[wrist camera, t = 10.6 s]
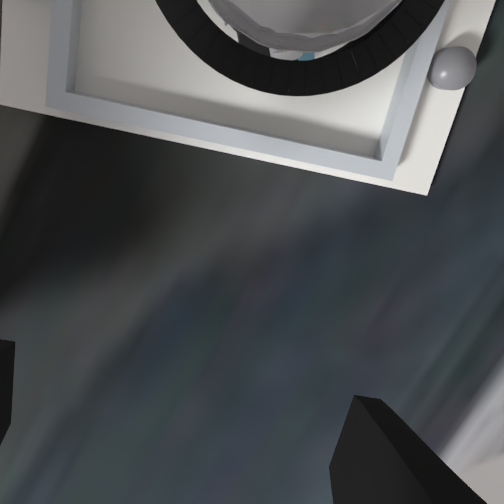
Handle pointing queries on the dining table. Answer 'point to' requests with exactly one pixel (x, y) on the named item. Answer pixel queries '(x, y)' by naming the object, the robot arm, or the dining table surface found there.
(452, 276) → the dining table surface
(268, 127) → the tray
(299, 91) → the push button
